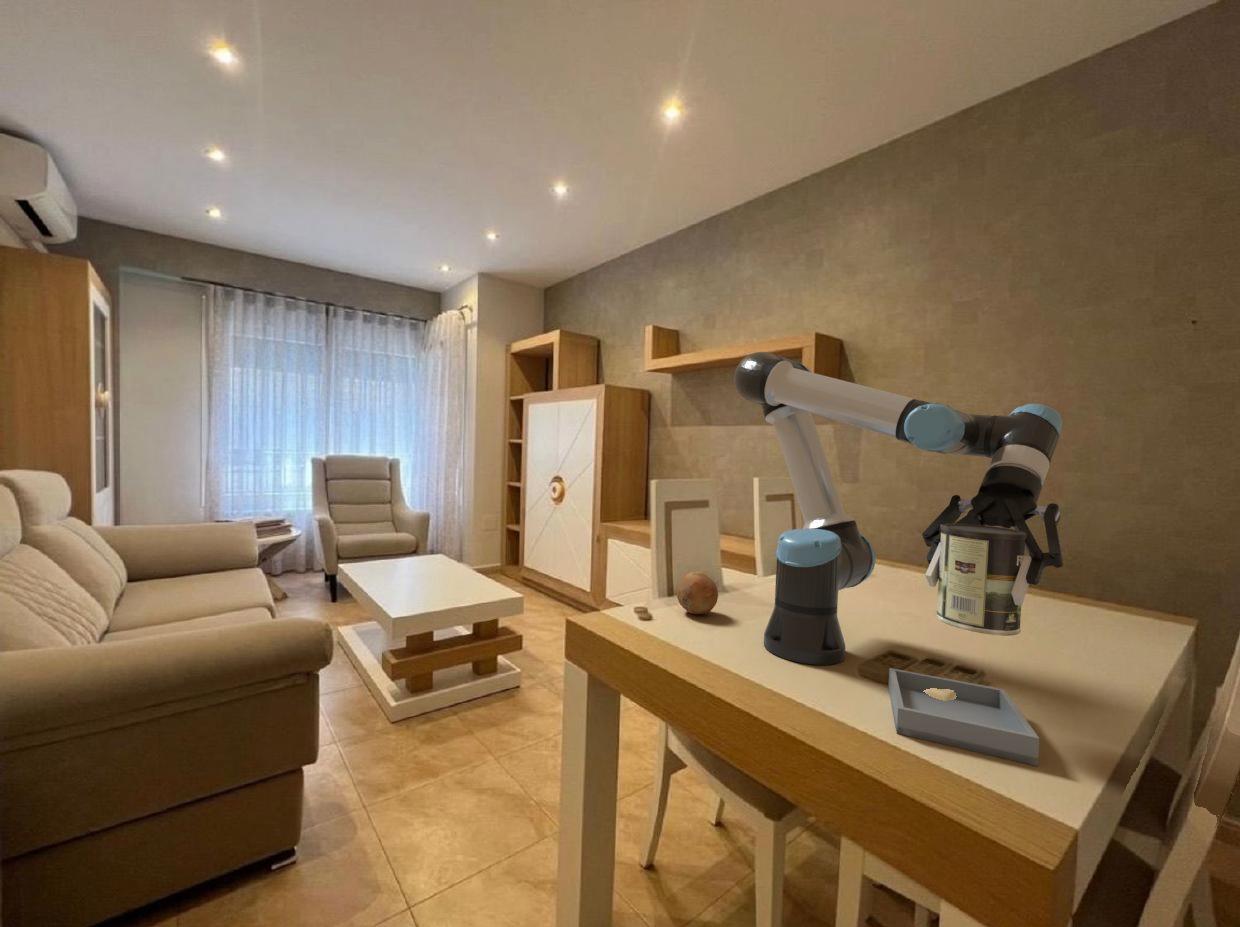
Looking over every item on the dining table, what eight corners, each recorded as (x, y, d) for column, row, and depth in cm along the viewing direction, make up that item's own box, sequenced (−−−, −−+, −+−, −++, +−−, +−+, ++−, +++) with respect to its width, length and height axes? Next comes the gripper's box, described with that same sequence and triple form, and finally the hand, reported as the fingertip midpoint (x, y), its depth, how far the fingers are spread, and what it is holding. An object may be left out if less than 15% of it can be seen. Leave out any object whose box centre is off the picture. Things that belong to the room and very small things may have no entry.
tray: (896, 733, 70) (897, 708, 70) (888, 688, 84) (889, 667, 84) (1038, 766, 63) (1039, 738, 63) (1003, 712, 78) (1004, 689, 78)
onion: (723, 613, 123) (725, 571, 123) (707, 623, 114) (709, 578, 114) (687, 605, 128) (689, 565, 128) (669, 614, 120) (671, 572, 120)
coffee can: (1014, 621, 76) (1020, 528, 76) (1026, 642, 68) (1033, 536, 67) (933, 608, 82) (939, 520, 81) (936, 625, 73) (941, 528, 72)
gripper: (1111, 503, 74) (1078, 628, 65) (941, 489, 92) (896, 586, 83) (1106, 466, 71) (1070, 593, 62) (930, 460, 89) (882, 557, 80)
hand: (970, 589), depth 73 cm, fingers closed on coffee can, 10 cm apart
